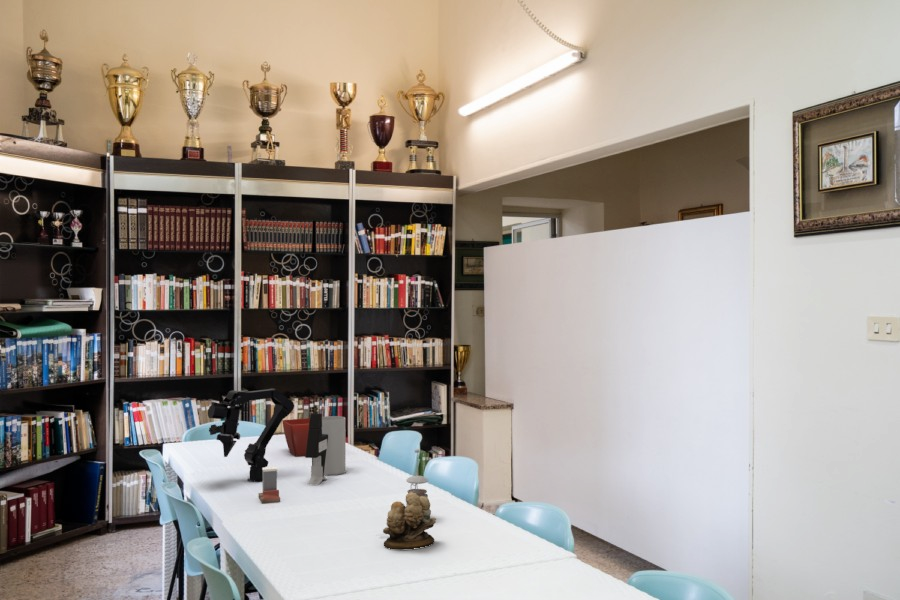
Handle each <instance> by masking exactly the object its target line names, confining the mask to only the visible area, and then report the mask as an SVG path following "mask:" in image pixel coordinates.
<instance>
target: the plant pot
mask: <svg viewBox="0 0 900 600" xmlns="http://www.w3.org/2000/svg"><path fill="white" fill-rule="evenodd" d="M309 421H310V417H308V418H295V419H294V418H293V419H291V418H290V419H283V420H282V421H281V423H282V429H283V432H284V433H283V434H284V437H285V441H286V444H287V447H288V450H289V453H291V455H293V456H294V457H305V455H306V447H307V438H308V430H309Z"/></svg>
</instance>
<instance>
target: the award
mask: <svg viewBox="0 0 900 600" xmlns="http://www.w3.org/2000/svg"><path fill="white" fill-rule="evenodd" d="M309 414H310V416H309V418H310V421H309V430H308V438H307V447H306V455H305V456H304V457H305V458H307V459H311V465H310V477H309V479H308V482H307V485H310V484H314V485H313V486H317V485H320V484H321V483H322V482H323V480H325V481H326V480H328V479H327V477H326V475H325V466H326V465H325V459H326V451H327V442H328V434H322V417H323V414H322V413H317V412H316V413H315V412H314V413H312V412H311V413H309Z"/></svg>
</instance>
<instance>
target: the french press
mask: <svg viewBox="0 0 900 600" xmlns="http://www.w3.org/2000/svg"><path fill="white" fill-rule="evenodd" d="M414 453H415V454H416V472H418V471H419V470H418V466H419V465H418V464H419V463H418V456H419V455H418V454H419V453H421V451H420V449H418V448H415V450H414ZM405 481H406V483H409V484H410V487H412V486H414V488H410V489H408V490H407V494H408V493H410V492H412V493H416V494H417V495H418V496H419V497H421V496H424V497H427V498H428V499H429V497H428V494H427V492H428V490H427V489H424V488H417V486H418V485H421V484H426V483H428V482H429V479H428V478H427V477H425V476H423V475H419V474H416V475H412V476H409V477H407V478H406V479H405ZM405 506H407V503H406V505H405Z"/></svg>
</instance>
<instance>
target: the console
mask: <svg viewBox="0 0 900 600" xmlns="http://www.w3.org/2000/svg"><path fill="white" fill-rule="evenodd" d="M258 498H259V501H260V503H261V504H271V503H273V504H274V503H281V496H280V490H279V489H277V490H269V491H263V490H262V492H258Z"/></svg>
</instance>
